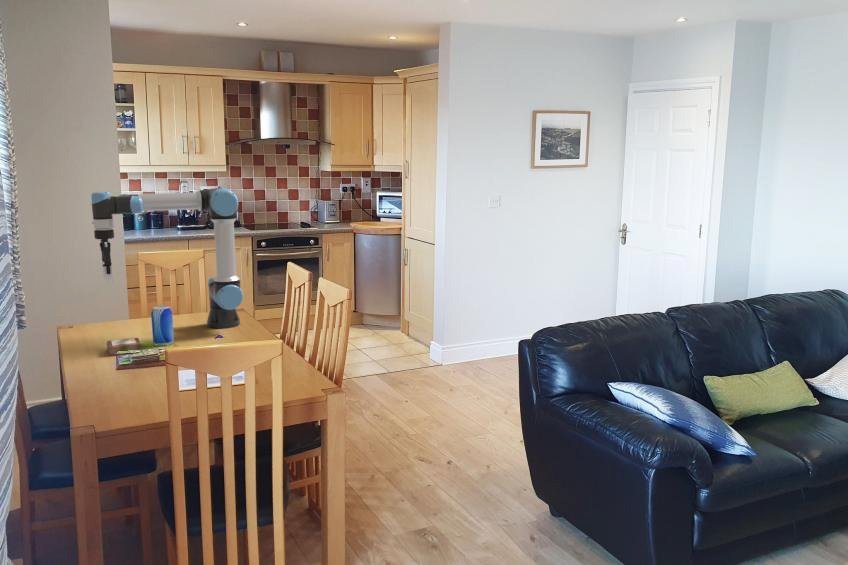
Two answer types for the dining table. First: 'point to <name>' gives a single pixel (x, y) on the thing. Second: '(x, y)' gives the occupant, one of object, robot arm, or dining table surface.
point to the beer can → (162, 325)
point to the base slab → (123, 345)
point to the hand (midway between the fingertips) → (108, 279)
